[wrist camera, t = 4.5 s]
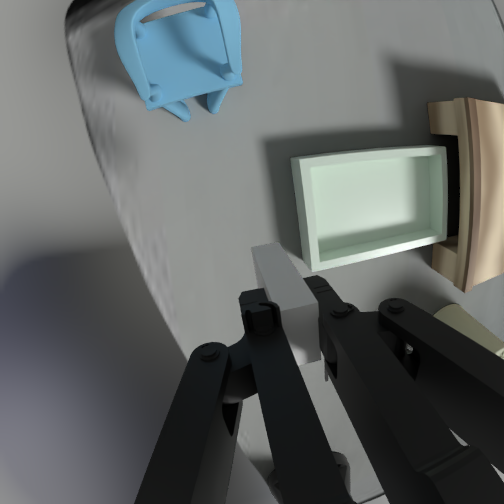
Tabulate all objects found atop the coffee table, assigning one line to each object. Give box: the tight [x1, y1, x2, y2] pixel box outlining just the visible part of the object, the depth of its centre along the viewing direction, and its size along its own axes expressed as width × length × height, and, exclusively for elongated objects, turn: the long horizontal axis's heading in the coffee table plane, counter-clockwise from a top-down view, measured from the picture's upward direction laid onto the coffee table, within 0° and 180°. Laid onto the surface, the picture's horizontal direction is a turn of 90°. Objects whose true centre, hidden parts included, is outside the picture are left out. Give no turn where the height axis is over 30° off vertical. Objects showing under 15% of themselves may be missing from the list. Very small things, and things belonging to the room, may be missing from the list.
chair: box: [114, 0, 243, 122], centre depth 17 cm, size 8×8×12 cm
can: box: [433, 304, 504, 359], centre depth 32 cm, size 9×9×12 cm
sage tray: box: [290, 145, 448, 272], centre depth 28 cm, size 16×10×3 cm, turn 99°
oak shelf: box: [427, 97, 504, 293], centre depth 27 cm, size 18×20×7 cm
